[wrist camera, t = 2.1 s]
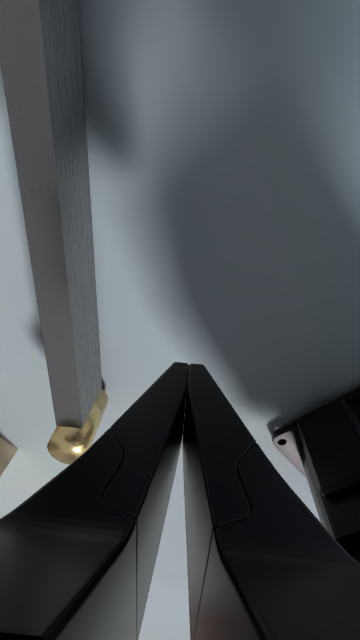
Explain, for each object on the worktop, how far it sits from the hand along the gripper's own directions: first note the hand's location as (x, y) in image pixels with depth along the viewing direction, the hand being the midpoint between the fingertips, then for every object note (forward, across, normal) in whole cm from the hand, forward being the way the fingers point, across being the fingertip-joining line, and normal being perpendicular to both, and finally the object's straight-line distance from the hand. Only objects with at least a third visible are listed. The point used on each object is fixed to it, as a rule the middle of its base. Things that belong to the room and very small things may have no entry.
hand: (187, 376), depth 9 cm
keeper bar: (+6, +5, -3) cm, 8 cm away
